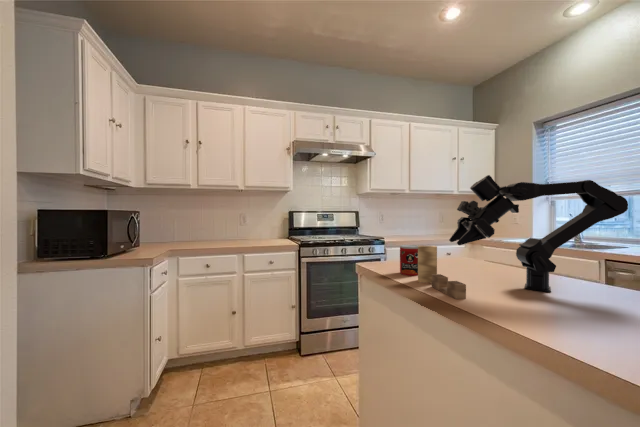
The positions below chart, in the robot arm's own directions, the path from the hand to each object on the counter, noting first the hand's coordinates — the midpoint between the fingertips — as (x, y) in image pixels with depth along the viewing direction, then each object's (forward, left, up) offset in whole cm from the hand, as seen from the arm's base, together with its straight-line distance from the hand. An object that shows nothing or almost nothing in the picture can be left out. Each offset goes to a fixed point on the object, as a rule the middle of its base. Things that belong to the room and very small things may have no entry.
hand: (453, 242), depth 95 cm
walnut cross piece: (+10, +1, -14) cm, 17 cm away
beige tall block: (+1, -8, -14) cm, 17 cm away
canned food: (-8, -18, -14) cm, 25 cm away
